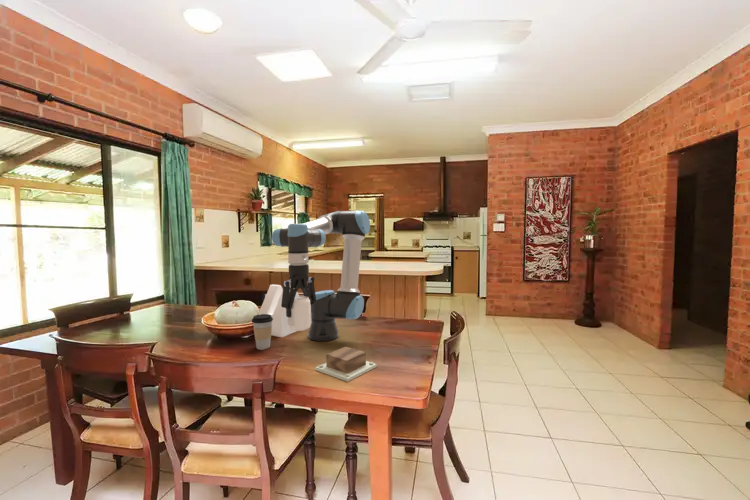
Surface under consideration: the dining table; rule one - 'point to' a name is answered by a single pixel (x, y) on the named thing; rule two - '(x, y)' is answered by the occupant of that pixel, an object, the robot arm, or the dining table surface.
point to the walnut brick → (346, 359)
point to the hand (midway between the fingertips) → (299, 322)
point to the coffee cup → (262, 330)
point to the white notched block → (276, 311)
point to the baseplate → (345, 376)
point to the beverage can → (301, 313)
